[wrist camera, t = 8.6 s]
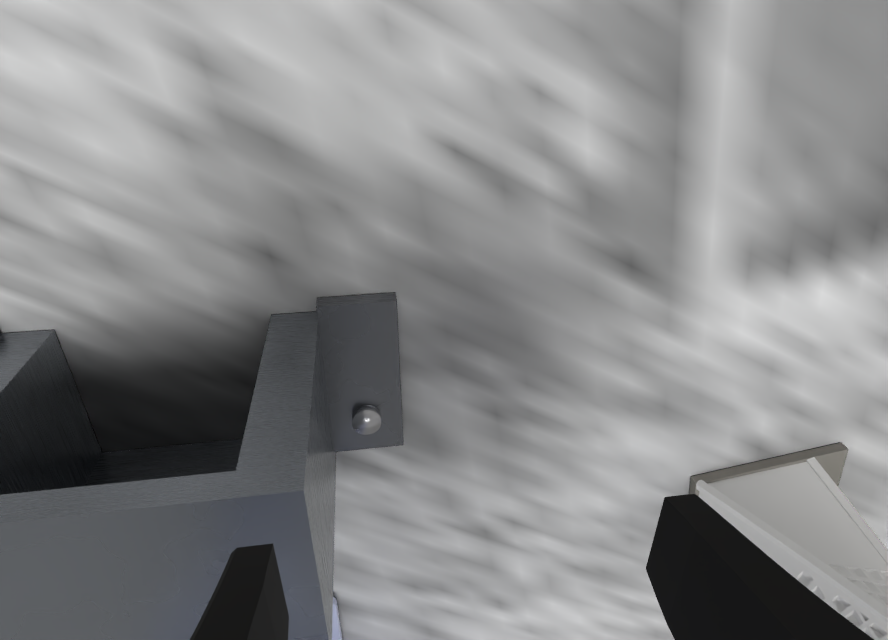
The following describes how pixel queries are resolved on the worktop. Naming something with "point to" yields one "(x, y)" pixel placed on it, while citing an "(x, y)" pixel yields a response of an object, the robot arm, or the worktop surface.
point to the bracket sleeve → (186, 484)
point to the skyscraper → (807, 529)
